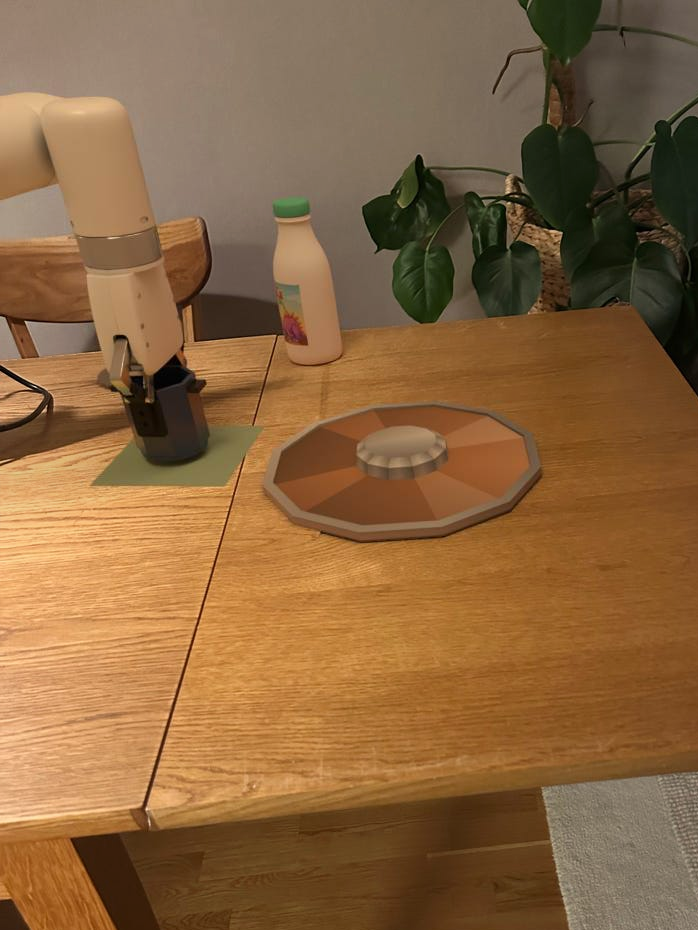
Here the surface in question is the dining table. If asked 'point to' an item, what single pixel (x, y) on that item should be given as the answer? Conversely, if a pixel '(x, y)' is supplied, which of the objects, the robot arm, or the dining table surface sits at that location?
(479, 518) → the shield
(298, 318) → the milk bottle
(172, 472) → the cloth
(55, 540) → the dining table surface
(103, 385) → the disc
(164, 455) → the pot
